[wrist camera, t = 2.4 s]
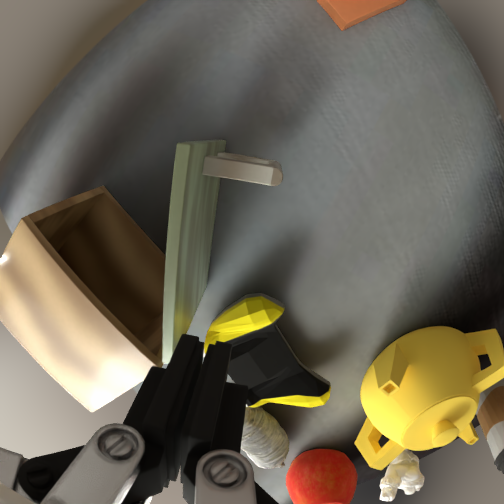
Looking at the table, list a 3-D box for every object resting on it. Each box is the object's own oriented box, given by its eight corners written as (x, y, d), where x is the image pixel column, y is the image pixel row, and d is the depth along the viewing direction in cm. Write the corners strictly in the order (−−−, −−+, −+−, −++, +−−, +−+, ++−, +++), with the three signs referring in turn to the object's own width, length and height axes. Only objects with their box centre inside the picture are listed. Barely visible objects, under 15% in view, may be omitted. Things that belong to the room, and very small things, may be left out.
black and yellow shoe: (274, 270, 31) (190, 310, 34) (273, 297, 26) (176, 339, 29) (332, 372, 35) (258, 399, 38) (338, 405, 30) (255, 432, 33)
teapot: (483, 304, 31) (535, 361, 20) (453, 399, 37) (482, 458, 26) (357, 323, 33) (385, 402, 22) (347, 420, 39) (360, 491, 27)
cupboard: (103, 185, 30) (21, 217, 18) (198, 289, 33) (161, 369, 21) (53, 250, 33) (-18, 298, 21) (136, 339, 36) (91, 413, 24)
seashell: (258, 469, 40) (257, 499, 32) (223, 395, 41) (214, 418, 33) (299, 456, 40) (305, 486, 32) (266, 380, 41) (267, 402, 33)
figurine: (362, 437, 40) (375, 502, 29) (389, 418, 38) (407, 485, 27) (399, 452, 41) (414, 509, 30) (423, 436, 40) (443, 493, 29)
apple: (356, 466, 43) (364, 517, 33) (294, 479, 45) (294, 529, 35) (349, 434, 40) (359, 494, 30) (278, 449, 42) (276, 507, 32)
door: (283, 149, 27) (289, 159, 16) (256, 297, 32) (245, 380, 21) (217, 139, 27) (176, 142, 16) (198, 286, 32) (162, 363, 21)
